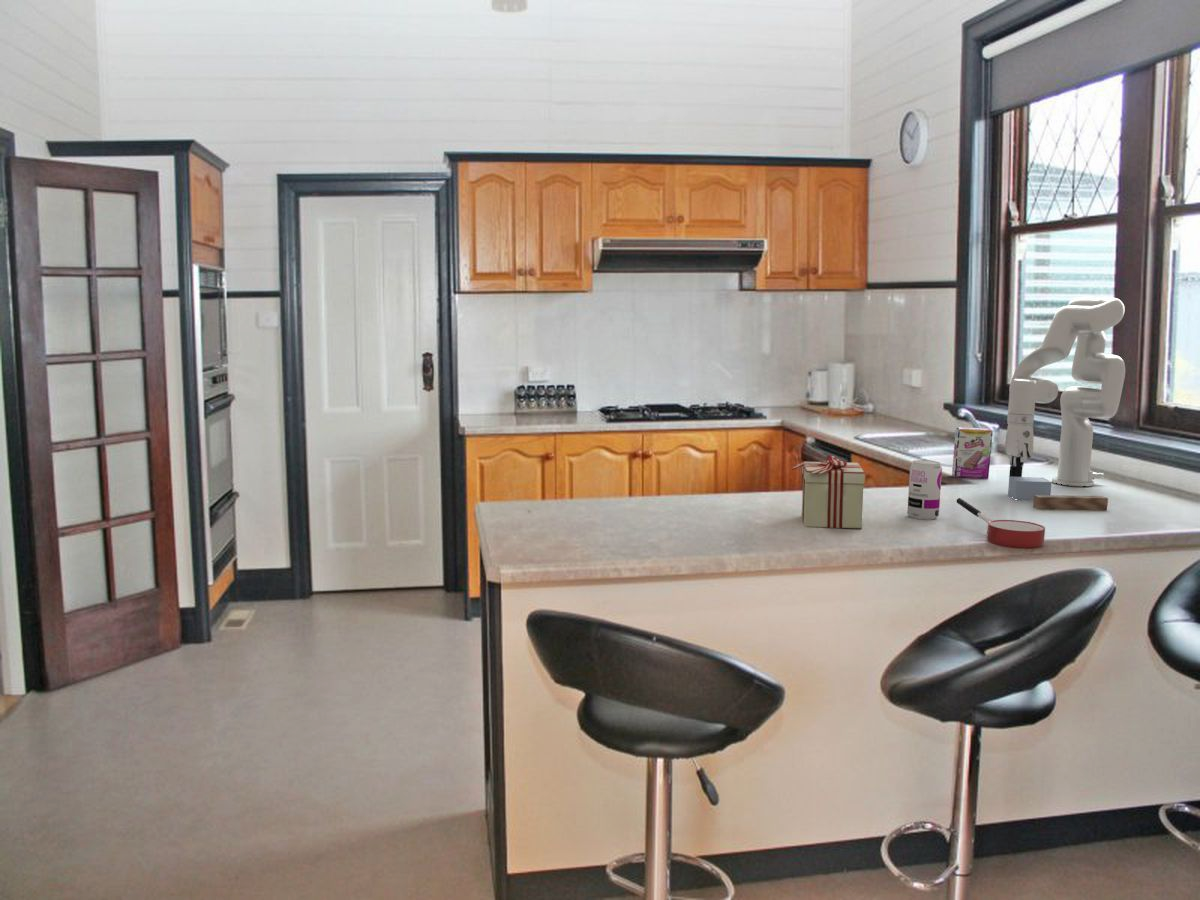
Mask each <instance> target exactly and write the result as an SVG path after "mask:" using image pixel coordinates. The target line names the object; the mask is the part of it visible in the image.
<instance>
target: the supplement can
mask: <svg viewBox="0 0 1200 900" xmlns="http://www.w3.org/2000/svg"><path fill="white" fill-rule="evenodd" d="M909 468H910V469H909V479H908V480H909V483H908V497H907V498H908V499H907V513H906V514H907V515H908V517H910V518H911V519H916V520H923V521H928V520H930V521H931V520H936V519H937V518H938V517H939V516H940V503H941V486H942V477H943V476H942V475H943V474H942V473H943V467H942V466H941V462H939V461H935V460H927V459H926V460H925V459H924V460H923V459H921V460H919V459H917V460H913V461H912V463H911V464H910V466H909Z"/></svg>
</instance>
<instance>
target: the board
mask: <svg viewBox="0 0 1200 900" xmlns="http://www.w3.org/2000/svg"><path fill="white" fill-rule="evenodd" d="M1108 501H1109V498H1108V497H1106V496H1103V495H1070V494H1069V495H1065V494H1064V495H1060V494H1059V495H1058V494H1056V495H1054V494H1051V495H1034V501H1032V502H1033V503H1032V507H1033V508H1035V509H1037V510H1045V509H1049V510H1053V511H1054V510H1055V509H1062V510H1061V511H1063V510H1064V511H1067V510H1068V511H1108V503H1109V502H1108ZM1049 510H1048V511H1049ZM1045 511H1046V510H1045ZM1055 511H1056V510H1055Z"/></svg>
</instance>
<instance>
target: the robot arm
mask: <svg viewBox="0 0 1200 900" xmlns="http://www.w3.org/2000/svg"><path fill="white" fill-rule="evenodd" d="M1124 314H1125V305H1124V303H1123V301H1122V300H1120V299H1119V298H1117V297H1095V296H1081V297H1076V298H1072V299H1071V300H1070V301H1069V302H1068V305H1066V306H1062V307H1060V308H1058V310H1057V311H1056V312H1055V313H1054V316H1053V319H1052V321H1051V323H1050V324H1049V327H1048V330H1047V332H1046V334H1045V337H1044V339H1043V341H1042V344H1041V345H1040V346H1039V347H1038V348H1036V349H1035V350H1033V351H1032V352H1031V353H1029V354H1028V355H1027V356H1026V357H1025V358H1024V359H1022V360H1021V361H1020V363H1018V365H1017V367H1016V369H1015V371H1014V373H1013V375H1012V377H1011V380H1010V383H1009V390H1008V391H1009V394H1008V395H1009V396H1008V407H1007V408H1008V410H1007V417H1006V419H1007V422H1006V423H1007V424H1008V425H1007V429H1006V430H1007V431H1006V433H1005V434H1006V436H1005V442H1004V443H1005V444H1004V452H1005V453H1006V454H1007V458H1009V476H1011V477H1023V467H1024V465H1025V463H1026V462H1027V460H1028V458H1029V459H1031V458H1033V456H1034V455H1033V454H1034V423H1035V421H1034V420H1035V407H1036V403H1037V404H1049V403H1052V402H1054V400H1056V399H1057V397H1058V395H1059V387H1058V384H1057V383H1056V382H1055V381H1054V380H1051V379H1048V378H1039V377H1032V375H1034V374H1035V373H1036V372H1037V371H1038V370H1040V369H1042V368H1044V367H1046V366H1049V365H1052V364H1056V363H1058V362H1060V361H1062V360H1065V359H1067V357H1068V356H1069V355H1070V353H1071V350H1072V348H1073V346H1074V343H1075V341H1076V347H1075V351H1074V355H1073V360H1072V361H1073V362H1072V366H1071V377H1072V379H1073V380H1074V381H1076V382H1079V383H1084V384H1085V383H1086V384H1087V383H1088V384H1094V385H1101V388H1100V387H1099V388H1098V387H1090V386H1081V385H1080V386H1079V385H1076V386H1070V387H1067V388H1065V389H1064V390H1063V392H1062V393H1061V396H1060V399H1059V400H1060V402H1059V404H1060V412H1061V426H1060V427H1061V429H1060V441H1059V453H1058V467H1057V476H1055V477H1052V478H1051V482H1052V483H1054V484H1056V483H1057V485H1061V484H1062V486H1067V485H1068V487H1069V486H1070V487H1083V486H1086V487H1093V486H1094V485H1095V481H1093V480H1095V479H1098V480H1104V479H1105V473H1104V472H1095V471H1094V470H1091V461H1092V450H1093V449H1092V448H1093V440H1094V439H1093V437H1094V429H1093V424H1092V423H1091V421H1090V419H1089V418H1093V419H1102V420H1109V419H1112V418H1113V417H1114V416H1115V415H1116V414H1117V412H1118V409H1119V406H1120V402H1121V398H1122V397H1121V396H1122V392H1123V387H1124V382H1125V377H1126V365H1125V361H1124V359H1122V357H1120V356H1119V355H1116V354H1105V350H1106V345H1107V344H1106V343H1107V338H1106V335H1105V332H1104V331H1106V330H1108V329H1110V328H1112V327H1115V326H1116V325H1118V324H1119V323H1120V322H1121V321H1122V319H1123V318H1124ZM1076 339H1077V340H1076ZM1009 476H1008V477H1009Z"/></svg>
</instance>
